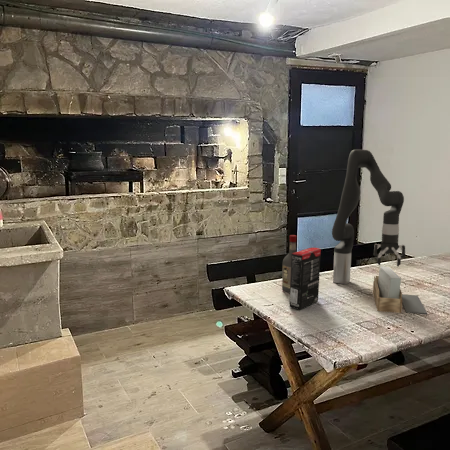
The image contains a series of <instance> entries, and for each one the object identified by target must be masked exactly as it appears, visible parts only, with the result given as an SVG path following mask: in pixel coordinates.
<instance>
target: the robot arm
mask: <svg viewBox="0 0 450 450" xmlns="http://www.w3.org/2000/svg"><path fill="white" fill-rule="evenodd" d="M360 168H361V169H362V168H363V169H364V168H365V169H366V170H368V172H369V173H370V176H369V178H370V179H369V180H370V183H371V185H372V187H373V188H374V189H375V191H376V192H377V195H378V199H379V201H380V203H381V204H382V205H383V206H384V207H390V209H388V210H386V211H384V212H383V218H382V220H383V221H382V227H381V229H382V230H381V243H380V244H379V243H378V244H377V243H374V249H373V256H374V257H375V258H376V263H377V265H378V266H381V259H382V258H381V257H382V256H384V255H385V254H388V255H389V254H390V255H393V254H395V255H396V257H397V259H396V266H397V267H400V265H401V261H402V259H405V258H406V246H405V244H399V236H400V235H399V234H400V215H401V211H402V208H403V205H404V201H405V196H404V194H403V192H402V191H399V190H392V184H391V183H390V181H389V180H388V179H387V178H386V177H385V175H384V174H383V173H382V171H381V169H380V167H379V165H378V163H377V161H376V159H375V157H374V155H373V153H372V152H371V151H370V150H368V149H353V150H351V151H350V153H349V156H348V159H347V167H346V175H345V180H344V184H343V188H342V192H341V197H340V203H339V205H338V206H339V207H338V210H337V214H336V218H335V219H334V222H333V225H332V231H331V236H332V239H333V240H334V241H337V242H339V243H338V244H337V245H335V246H334V249H333V250H334V251H333V253H334V255H333V276H332V277H333V279H332V283H335V284H342V285H343V284H345V285H346V284H349V283H350V282H351V267H352V266H351V265H352V249H353V247H354V241H355V240H354V239H355V238H354V237H355V229H354V226H353V225H352V224H351V223H347V221H348V219H349V217H350V216H351V215H352V212H354V210H355V209H356V208H357V206H358V203H359V200H360V196H361V188H360V185H359V183H358V180H357V174H358V170H359V169H360ZM379 248H381V250H380V251H379V252H378V249H379ZM399 249H400V250H401V254H400V253H399V252H398V251H397V250H399Z"/></svg>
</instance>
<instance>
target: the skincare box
mask: <svg viewBox="0 0 450 450" xmlns="http://www.w3.org/2000/svg"><path fill="white" fill-rule="evenodd" d="M378 276H379V278H378V288H379V297H380V298H394V299H399V295H400V289H401V282H402V278H401V277H400V275H398V273H396V272H395V271H394V270H393V269H392V268H391V267H390V266H386V265H385V266H384V265H383V266H381V265H379V270H378Z"/></svg>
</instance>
